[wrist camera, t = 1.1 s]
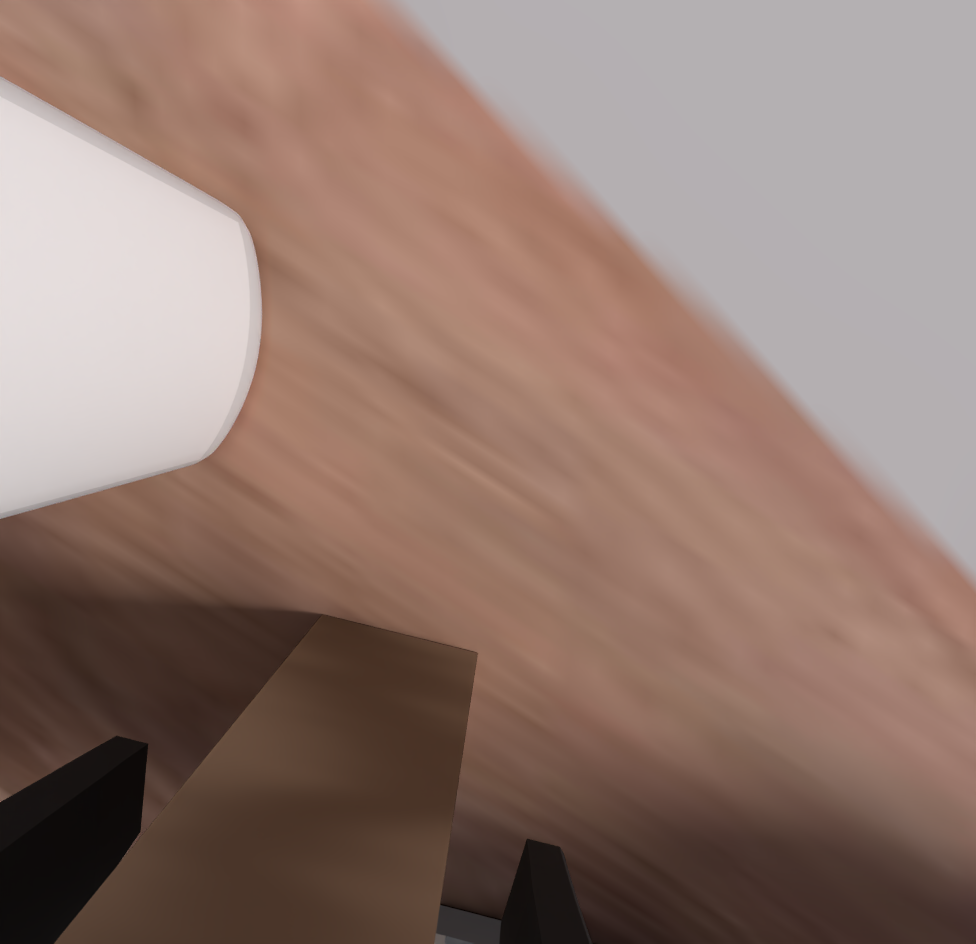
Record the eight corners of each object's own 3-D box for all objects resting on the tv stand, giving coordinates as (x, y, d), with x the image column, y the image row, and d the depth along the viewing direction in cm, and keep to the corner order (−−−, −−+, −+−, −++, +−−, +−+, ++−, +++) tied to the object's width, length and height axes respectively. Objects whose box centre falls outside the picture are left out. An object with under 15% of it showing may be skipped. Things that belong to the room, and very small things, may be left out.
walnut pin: (477, 653, 12) (356, 1462, 3) (444, 783, 13) (274, 1710, 4) (322, 614, 12) (-236, 1299, 3) (299, 746, 13) (-190, 1577, 4)
